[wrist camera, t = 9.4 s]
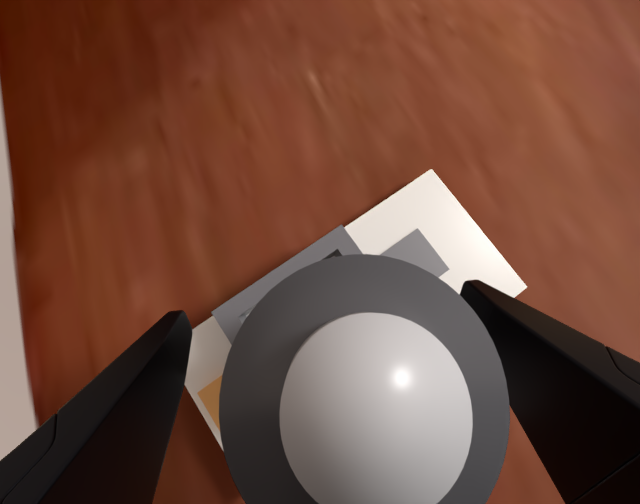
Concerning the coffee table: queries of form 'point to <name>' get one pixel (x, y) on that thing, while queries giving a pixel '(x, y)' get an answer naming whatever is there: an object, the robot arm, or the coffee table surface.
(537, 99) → the coffee table surface
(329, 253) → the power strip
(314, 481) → the joystick
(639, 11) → the coffee table surface
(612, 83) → the coffee table surface
